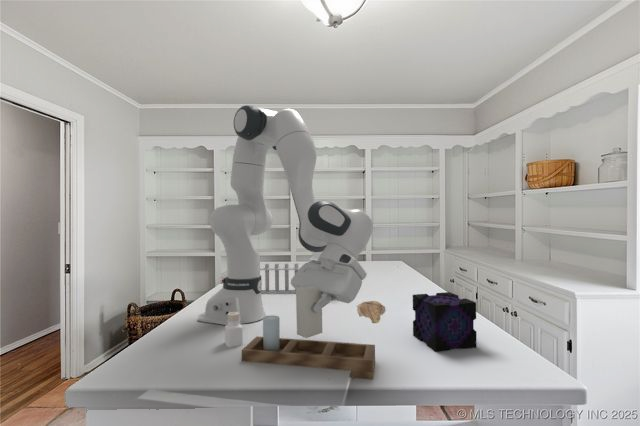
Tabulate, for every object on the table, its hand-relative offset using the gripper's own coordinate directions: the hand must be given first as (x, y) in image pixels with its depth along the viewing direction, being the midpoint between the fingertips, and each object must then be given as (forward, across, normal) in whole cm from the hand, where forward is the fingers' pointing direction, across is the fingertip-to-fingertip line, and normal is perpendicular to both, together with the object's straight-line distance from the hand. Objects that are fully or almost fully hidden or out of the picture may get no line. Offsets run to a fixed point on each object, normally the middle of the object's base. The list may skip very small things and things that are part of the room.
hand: (307, 309), depth 81 cm
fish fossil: (-21, -17, +41) cm, 49 cm away
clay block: (+4, 0, +5) cm, 6 cm away
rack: (+9, 0, +10) cm, 13 cm away
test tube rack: (-17, -66, +36) cm, 77 cm away
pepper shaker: (+15, -21, +4) cm, 26 cm away
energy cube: (-16, +15, +36) cm, 42 cm away
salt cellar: (+12, -8, +5) cm, 15 cm away
